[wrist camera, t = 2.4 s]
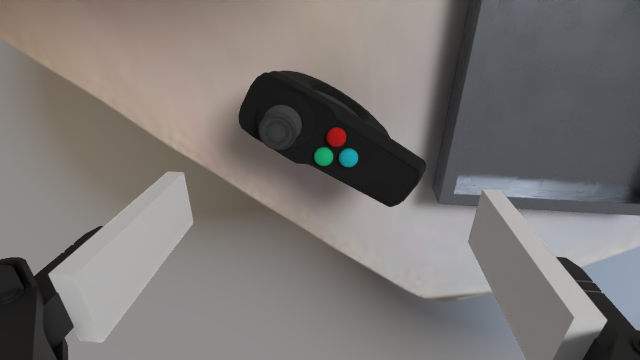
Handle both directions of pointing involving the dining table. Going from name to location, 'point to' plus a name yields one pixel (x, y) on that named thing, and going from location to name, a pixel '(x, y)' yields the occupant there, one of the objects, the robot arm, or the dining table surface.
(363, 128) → the controller
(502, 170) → the tray
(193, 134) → the dining table surface
